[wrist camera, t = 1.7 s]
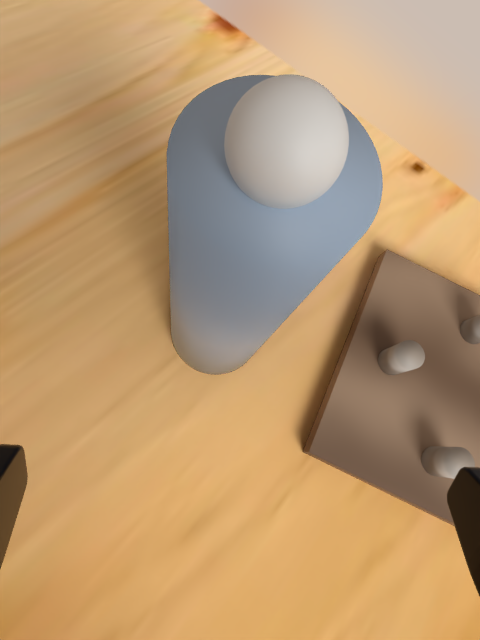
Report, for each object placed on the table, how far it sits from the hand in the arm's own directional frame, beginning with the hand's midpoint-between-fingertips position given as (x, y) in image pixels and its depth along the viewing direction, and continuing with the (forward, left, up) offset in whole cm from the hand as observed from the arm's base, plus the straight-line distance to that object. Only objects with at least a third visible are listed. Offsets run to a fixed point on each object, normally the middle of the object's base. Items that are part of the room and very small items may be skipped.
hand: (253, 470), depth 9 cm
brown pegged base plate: (-5, -12, -12) cm, 18 cm away
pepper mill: (+5, -4, -12) cm, 14 cm away
